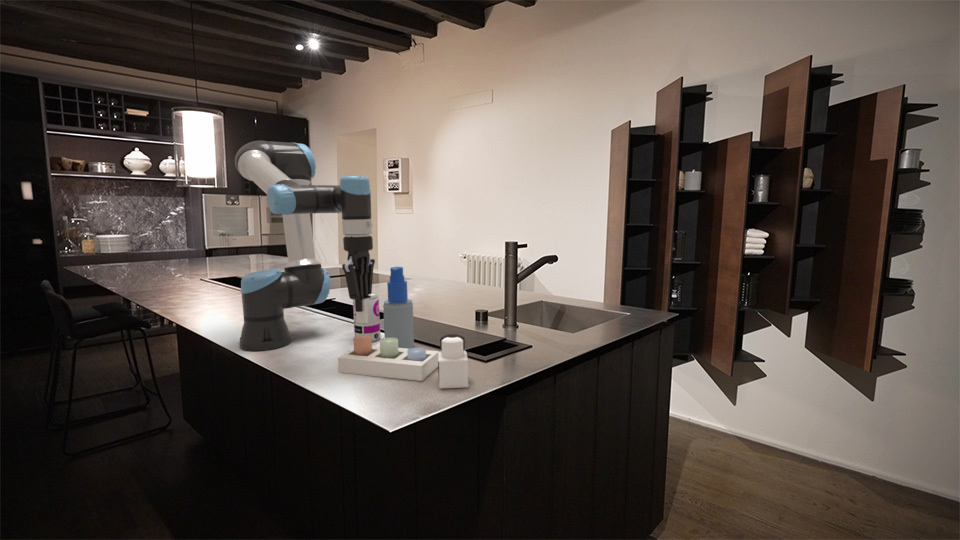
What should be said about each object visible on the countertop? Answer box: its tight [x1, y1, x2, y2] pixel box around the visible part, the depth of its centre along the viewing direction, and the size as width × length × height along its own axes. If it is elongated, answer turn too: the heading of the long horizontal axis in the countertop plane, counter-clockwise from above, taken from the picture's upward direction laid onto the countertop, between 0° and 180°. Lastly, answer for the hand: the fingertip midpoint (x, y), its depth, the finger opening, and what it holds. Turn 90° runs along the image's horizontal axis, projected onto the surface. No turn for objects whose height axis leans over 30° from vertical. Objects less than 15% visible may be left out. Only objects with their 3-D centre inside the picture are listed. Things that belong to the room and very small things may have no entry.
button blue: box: [407, 347, 427, 362], centre depth 128 cm, size 5×5×5 cm
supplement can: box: [352, 292, 381, 343], centre depth 157 cm, size 8×8×15 cm
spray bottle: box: [383, 266, 415, 349], centre depth 147 cm, size 9×9×25 cm
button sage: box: [379, 337, 399, 359], centre depth 130 cm, size 5×5×5 cm
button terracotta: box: [353, 335, 373, 356], centre depth 132 cm, size 5×5×5 cm
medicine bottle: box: [437, 333, 469, 390], centre depth 119 cm, size 7×7×12 cm
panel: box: [337, 344, 440, 382], centre depth 130 cm, size 24×12×4 cm, turn 73°
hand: (362, 322), depth 131 cm, fingers closed
